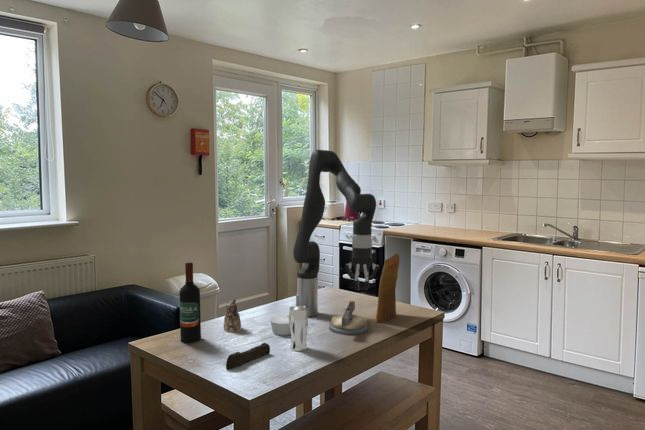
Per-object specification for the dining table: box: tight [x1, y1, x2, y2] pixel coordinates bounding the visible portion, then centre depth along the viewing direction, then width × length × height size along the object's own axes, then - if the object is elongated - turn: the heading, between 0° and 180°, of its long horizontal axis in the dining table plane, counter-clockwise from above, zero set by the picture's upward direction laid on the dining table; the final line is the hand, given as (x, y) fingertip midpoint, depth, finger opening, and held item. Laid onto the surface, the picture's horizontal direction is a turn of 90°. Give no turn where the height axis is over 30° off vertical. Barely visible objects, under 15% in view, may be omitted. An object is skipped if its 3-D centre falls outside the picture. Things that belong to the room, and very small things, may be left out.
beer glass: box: [288, 305, 309, 352], centre depth 176 cm, size 7×7×15 cm
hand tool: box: [225, 342, 271, 370], centre depth 165 cm, size 19×4×5 cm, turn 140°
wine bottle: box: [179, 261, 202, 344], centre depth 185 cm, size 8×8×30 cm
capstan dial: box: [331, 300, 367, 330], centre depth 199 cm, size 14×25×6 cm, turn 169°
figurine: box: [223, 299, 242, 333], centre depth 198 cm, size 7×7×12 cm
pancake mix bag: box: [375, 253, 400, 324], centre depth 212 cm, size 7×19×28 cm, turn 146°
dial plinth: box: [328, 321, 369, 336], centre depth 200 cm, size 16×16×2 cm
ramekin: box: [269, 314, 291, 336], centre depth 195 cm, size 11×11×5 cm
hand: (361, 289), depth 187 cm, fingers closed
